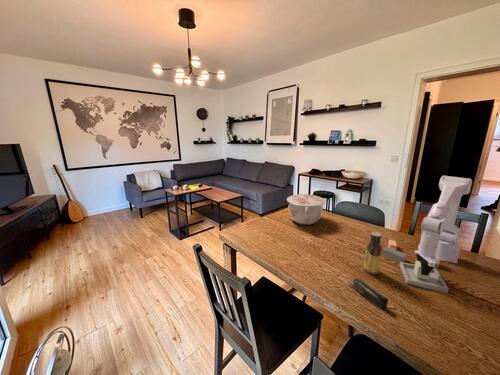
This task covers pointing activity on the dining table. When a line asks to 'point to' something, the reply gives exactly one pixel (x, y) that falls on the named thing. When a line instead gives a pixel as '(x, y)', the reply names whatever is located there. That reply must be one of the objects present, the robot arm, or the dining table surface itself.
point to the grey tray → (433, 282)
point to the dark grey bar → (370, 293)
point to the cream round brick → (437, 259)
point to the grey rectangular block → (394, 254)
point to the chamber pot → (305, 208)
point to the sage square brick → (419, 271)
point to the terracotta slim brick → (392, 244)
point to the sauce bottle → (373, 254)
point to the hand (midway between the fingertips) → (422, 271)
